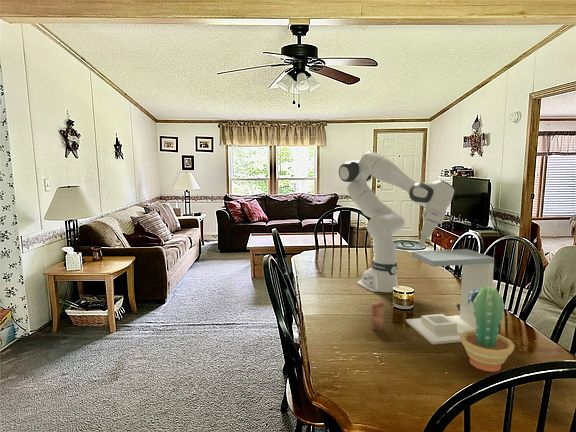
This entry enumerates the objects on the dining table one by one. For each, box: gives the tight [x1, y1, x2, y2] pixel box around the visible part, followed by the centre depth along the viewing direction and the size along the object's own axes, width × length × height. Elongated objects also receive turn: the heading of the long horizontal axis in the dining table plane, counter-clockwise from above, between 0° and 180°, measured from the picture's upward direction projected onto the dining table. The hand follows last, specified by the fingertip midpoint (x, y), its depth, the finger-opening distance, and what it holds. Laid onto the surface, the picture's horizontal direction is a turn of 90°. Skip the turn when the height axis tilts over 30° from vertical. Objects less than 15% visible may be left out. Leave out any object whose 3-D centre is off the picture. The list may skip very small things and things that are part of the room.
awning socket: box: [405, 248, 495, 345], centre depth 141 cm, size 20×24×30 cm
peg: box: [370, 301, 385, 332], centre depth 145 cm, size 4×4×10 cm
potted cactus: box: [460, 286, 516, 372], centre depth 117 cm, size 15×15×25 cm
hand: (420, 245), depth 165 cm, fingers open, 8 cm apart
